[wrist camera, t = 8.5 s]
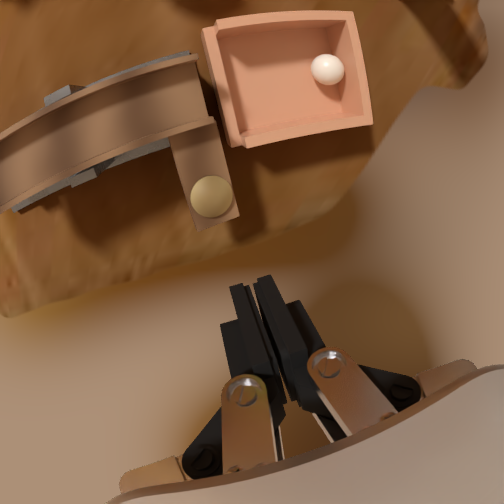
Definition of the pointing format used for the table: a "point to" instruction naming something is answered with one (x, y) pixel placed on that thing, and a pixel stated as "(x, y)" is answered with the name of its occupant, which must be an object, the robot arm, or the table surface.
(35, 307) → the table surface
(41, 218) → the table surface
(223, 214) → the lever
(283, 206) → the table surface
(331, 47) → the dish
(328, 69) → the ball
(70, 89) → the stand
